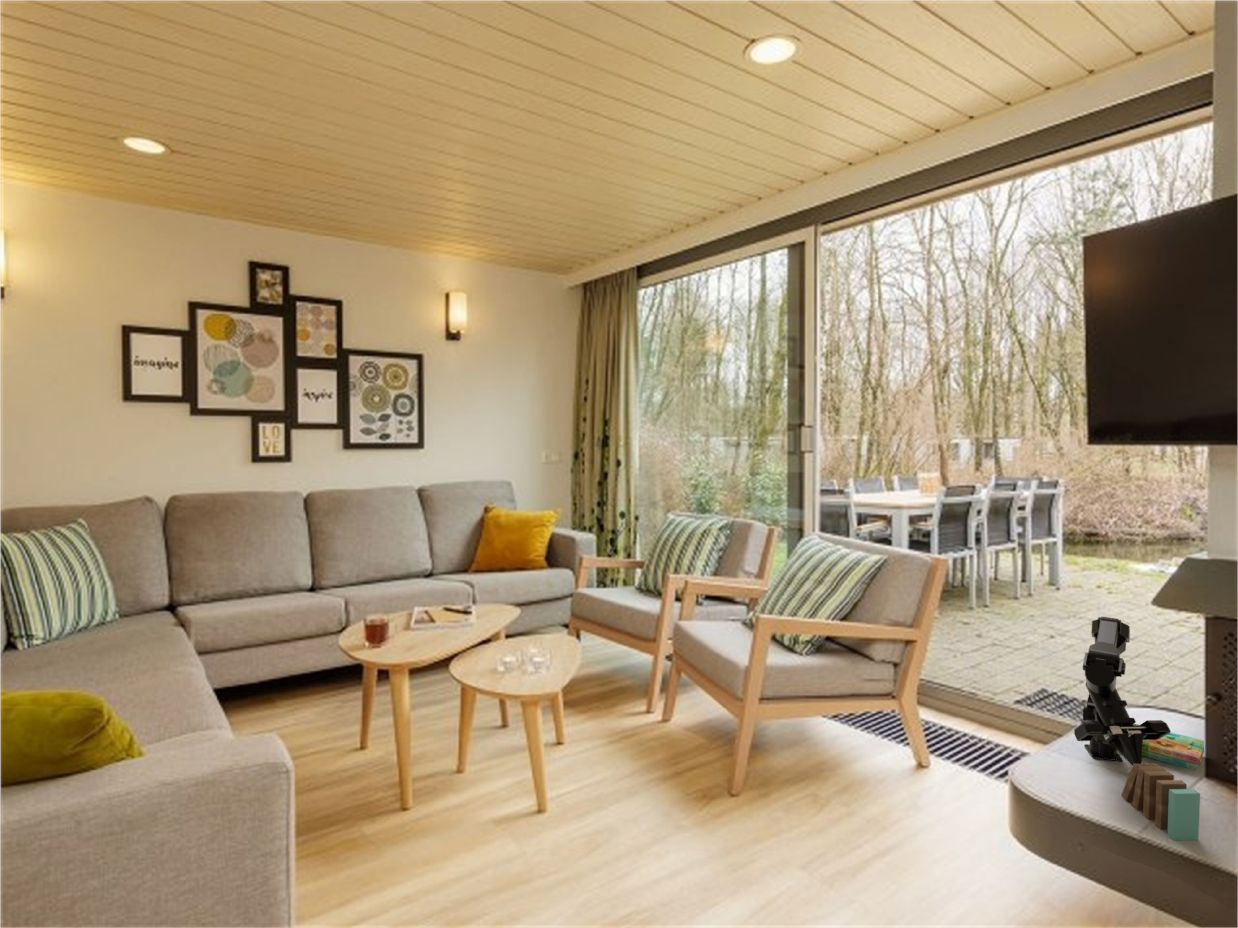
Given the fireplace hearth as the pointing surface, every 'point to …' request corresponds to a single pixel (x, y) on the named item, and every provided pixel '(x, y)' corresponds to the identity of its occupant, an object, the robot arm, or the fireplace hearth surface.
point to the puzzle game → (1175, 750)
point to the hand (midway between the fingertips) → (1138, 769)
